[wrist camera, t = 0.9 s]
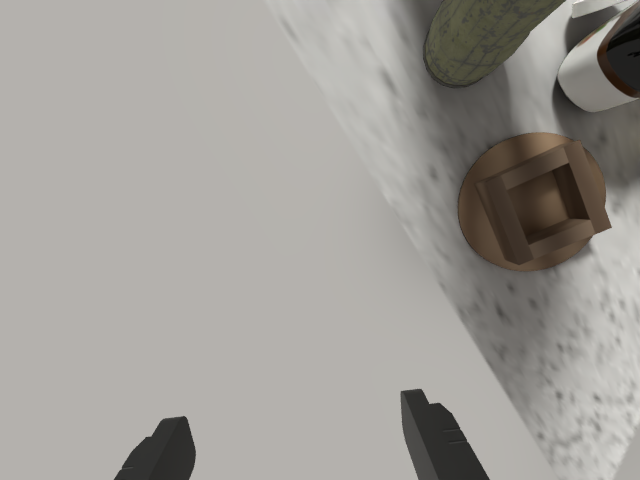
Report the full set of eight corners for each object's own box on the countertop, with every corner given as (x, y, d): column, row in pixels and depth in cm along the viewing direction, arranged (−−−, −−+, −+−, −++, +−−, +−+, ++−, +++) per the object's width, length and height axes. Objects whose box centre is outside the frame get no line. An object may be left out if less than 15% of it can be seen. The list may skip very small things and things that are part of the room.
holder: (572, 108, 35) (600, 98, 31) (619, 236, 37) (650, 241, 33) (437, 171, 37) (447, 169, 34) (486, 289, 39) (502, 299, 35)
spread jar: (578, 128, 35) (691, 95, 24) (514, 60, 35) (598, -7, 23) (665, 48, 34) (834, -29, 22) (599, -25, 33) (737, -144, 22)
